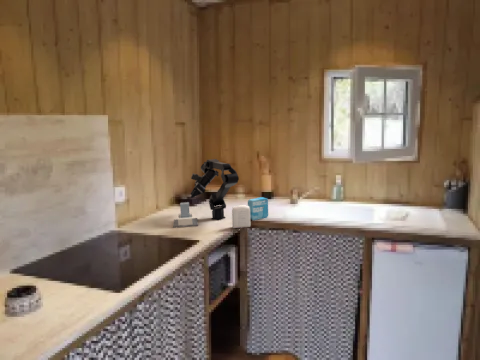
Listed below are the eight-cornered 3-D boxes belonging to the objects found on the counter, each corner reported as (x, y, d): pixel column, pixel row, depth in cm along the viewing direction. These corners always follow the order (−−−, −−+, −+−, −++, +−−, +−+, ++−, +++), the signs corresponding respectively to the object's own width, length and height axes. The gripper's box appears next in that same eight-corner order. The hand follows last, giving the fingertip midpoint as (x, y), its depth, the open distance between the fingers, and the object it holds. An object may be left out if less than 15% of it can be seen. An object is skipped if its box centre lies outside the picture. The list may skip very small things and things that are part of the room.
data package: (252, 220, 227) (251, 200, 225) (248, 219, 231) (247, 199, 229) (268, 217, 233) (268, 197, 231) (264, 215, 237) (263, 196, 235)
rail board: (197, 219, 234) (196, 212, 233) (197, 226, 219) (197, 218, 219) (174, 220, 232) (173, 213, 231) (173, 227, 217) (172, 220, 217)
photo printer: (249, 225, 218) (249, 203, 216) (251, 227, 213) (250, 205, 212) (231, 226, 216) (231, 205, 214) (233, 228, 212) (232, 206, 210)
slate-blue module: (189, 220, 228) (188, 202, 226) (189, 222, 224) (188, 203, 222) (181, 220, 227) (180, 202, 226) (181, 222, 223) (180, 204, 221)
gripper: (197, 166, 244) (181, 185, 245) (198, 170, 226) (180, 190, 226) (210, 178, 247) (194, 196, 247) (212, 183, 228) (195, 202, 229)
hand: (191, 196), depth 237 cm, fingers open, 9 cm apart
